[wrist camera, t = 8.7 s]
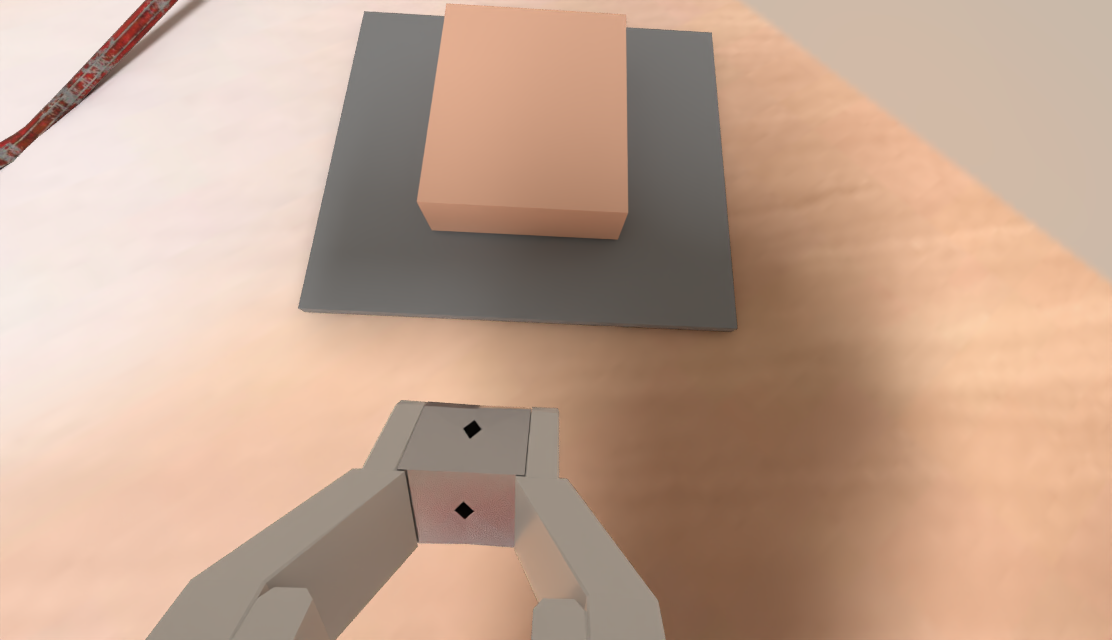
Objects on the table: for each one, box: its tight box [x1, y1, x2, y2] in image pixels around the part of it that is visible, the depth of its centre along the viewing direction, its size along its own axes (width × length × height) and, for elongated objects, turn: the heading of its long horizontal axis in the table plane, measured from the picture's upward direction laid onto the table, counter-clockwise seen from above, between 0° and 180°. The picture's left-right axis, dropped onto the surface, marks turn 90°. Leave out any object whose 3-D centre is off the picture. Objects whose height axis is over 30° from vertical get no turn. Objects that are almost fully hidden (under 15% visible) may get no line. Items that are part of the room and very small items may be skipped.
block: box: [417, 4, 628, 240], centre depth 18 cm, size 8×2×10 cm
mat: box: [298, 11, 737, 331], centre depth 19 cm, size 18×16×1 cm
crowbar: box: [0, 0, 178, 168], centre depth 21 cm, size 26×2×5 cm, turn 143°
